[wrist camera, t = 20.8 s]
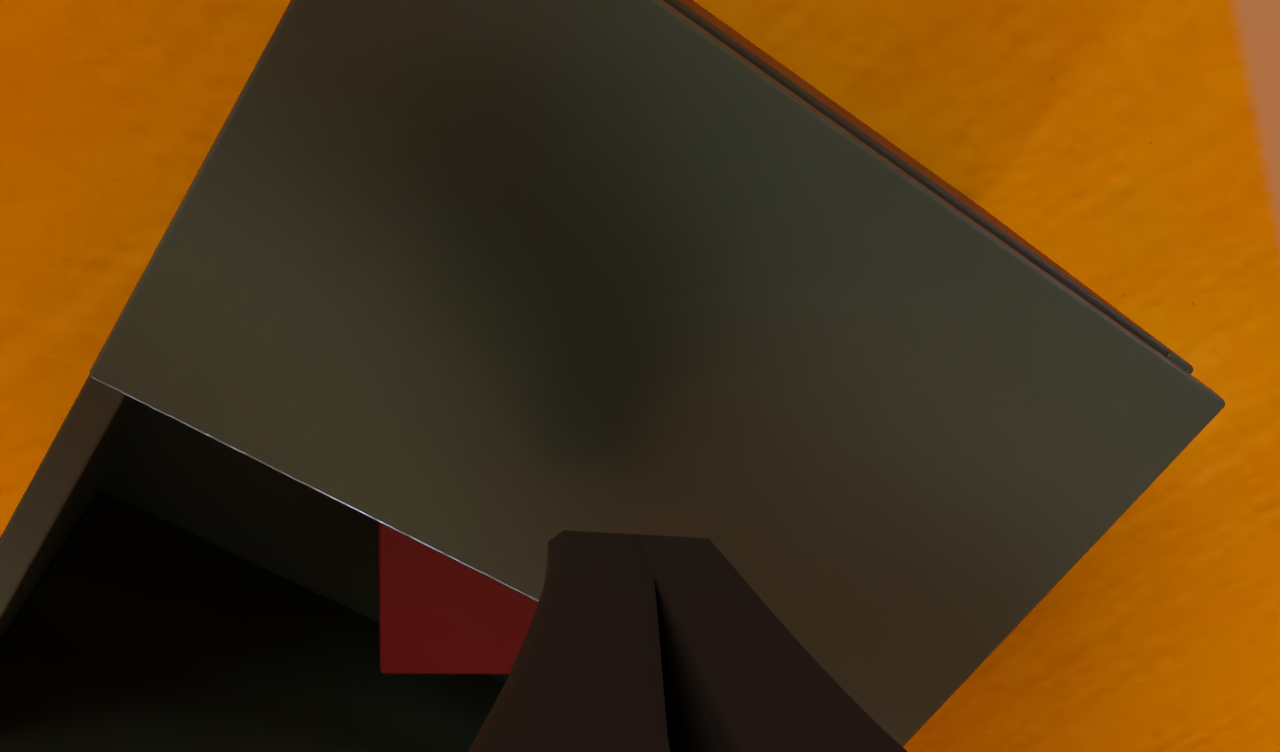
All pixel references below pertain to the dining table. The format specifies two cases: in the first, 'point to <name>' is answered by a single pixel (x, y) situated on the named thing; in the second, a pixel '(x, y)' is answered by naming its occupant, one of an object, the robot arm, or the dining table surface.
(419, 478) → the carton flap
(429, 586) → the red rectangular block
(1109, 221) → the dining table surface
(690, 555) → the robot arm
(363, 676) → the carton
